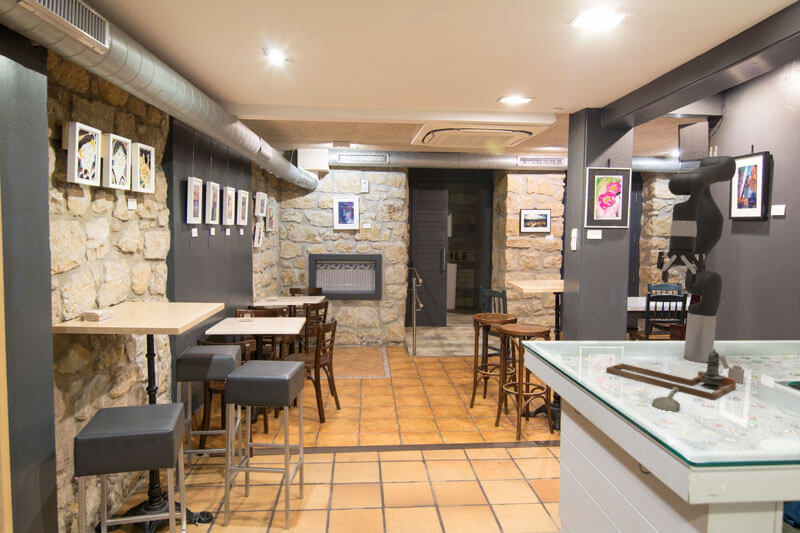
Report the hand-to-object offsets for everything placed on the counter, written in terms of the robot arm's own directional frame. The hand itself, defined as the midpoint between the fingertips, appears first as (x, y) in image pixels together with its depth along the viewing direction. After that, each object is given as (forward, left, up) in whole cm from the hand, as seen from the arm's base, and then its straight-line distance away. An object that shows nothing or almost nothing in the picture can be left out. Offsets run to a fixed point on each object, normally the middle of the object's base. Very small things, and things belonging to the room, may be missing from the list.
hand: (679, 283), depth 168 cm
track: (+10, +3, -30) cm, 32 cm away
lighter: (-7, +15, -30) cm, 35 cm away
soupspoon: (+30, +12, -31) cm, 44 cm away
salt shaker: (+6, +14, -30) cm, 34 cm away
